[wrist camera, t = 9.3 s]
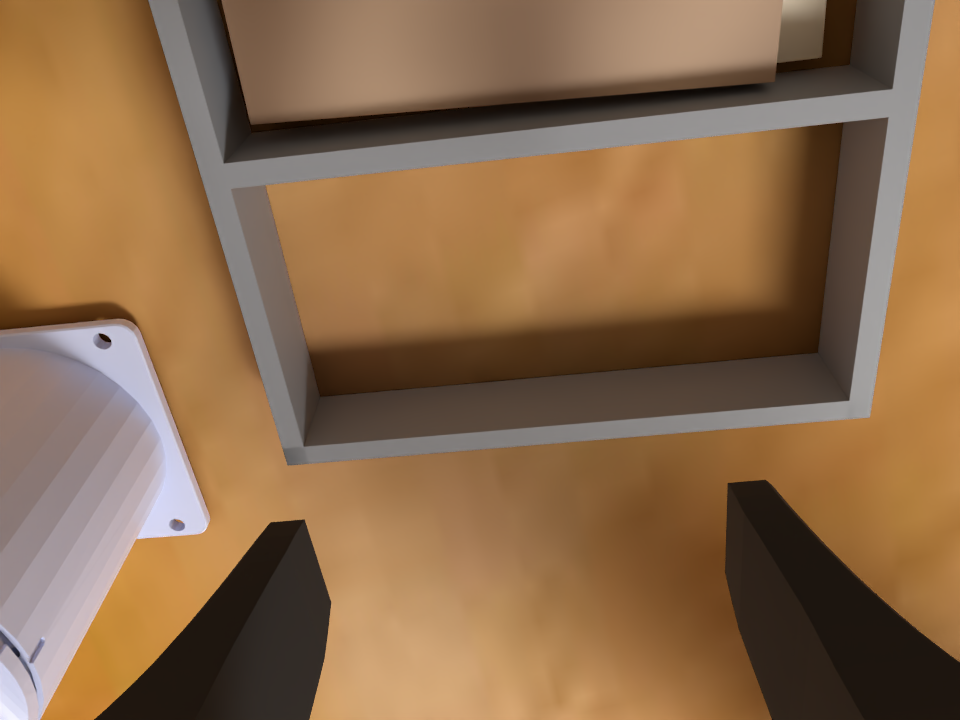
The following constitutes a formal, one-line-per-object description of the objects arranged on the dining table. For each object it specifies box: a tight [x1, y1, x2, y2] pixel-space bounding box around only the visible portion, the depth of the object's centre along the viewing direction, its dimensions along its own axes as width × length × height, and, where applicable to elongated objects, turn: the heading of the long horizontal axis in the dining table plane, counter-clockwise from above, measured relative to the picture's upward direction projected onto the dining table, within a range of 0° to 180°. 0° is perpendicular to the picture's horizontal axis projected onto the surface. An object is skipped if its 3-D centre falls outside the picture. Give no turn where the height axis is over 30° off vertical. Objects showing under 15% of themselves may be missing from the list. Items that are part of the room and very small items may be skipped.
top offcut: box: [221, 0, 783, 125], centre depth 18 cm, size 12×4×1 cm, turn 95°
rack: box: [148, 0, 935, 465], centre depth 20 cm, size 16×14×2 cm
